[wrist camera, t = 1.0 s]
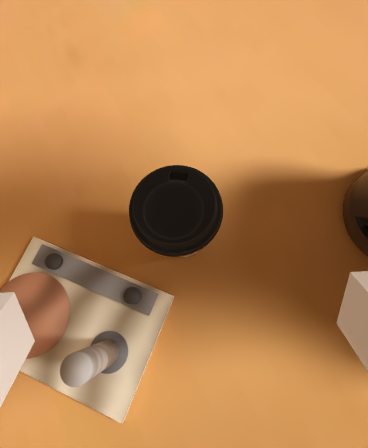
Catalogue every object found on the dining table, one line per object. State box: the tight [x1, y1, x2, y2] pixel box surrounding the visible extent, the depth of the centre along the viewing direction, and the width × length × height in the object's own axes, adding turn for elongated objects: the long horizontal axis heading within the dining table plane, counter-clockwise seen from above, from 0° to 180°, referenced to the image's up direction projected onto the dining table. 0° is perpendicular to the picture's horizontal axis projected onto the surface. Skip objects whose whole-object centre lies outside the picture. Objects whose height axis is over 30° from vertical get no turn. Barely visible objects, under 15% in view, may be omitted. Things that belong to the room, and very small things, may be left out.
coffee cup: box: [129, 165, 223, 257], centre depth 34 cm, size 9×9×15 cm
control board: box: [0, 236, 175, 424], centre depth 34 cm, size 22×16×12 cm
